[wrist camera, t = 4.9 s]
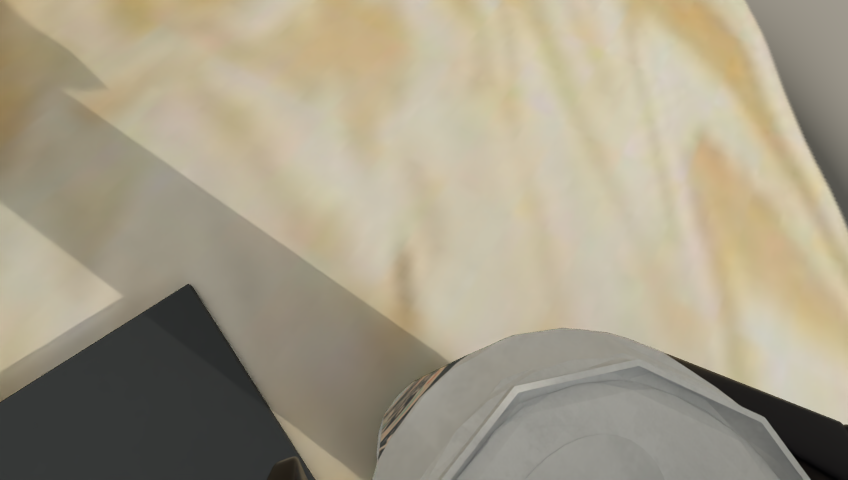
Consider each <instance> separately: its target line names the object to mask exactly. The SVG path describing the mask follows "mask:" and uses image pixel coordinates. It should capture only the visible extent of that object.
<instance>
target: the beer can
mask: <svg viewBox="0 0 848 480" xmlns="http://www.w3.org/2000/svg"><path fill="white" fill-rule="evenodd" d="M372 480H811V479H810V478H809V477H808V475H807V474H806V473H805V471H804V470H803V469H802V467H801V466H800V465H799V463H798V462H797V460H796V459H795V458H794V456H793V455H792V454H791V452H790V451H789V450H788V448H787V447H786V446H785V444H784V443H783V441H782V440H781V439H780V437H779V436H778V435H777V433H776V432H775V431H774V429H773V428H772V427H771V425H770V424H769V423H768V421H767V420H766V418H765V417H763V416H761V415H759V414H756V413H754V412H752V411H750V410H748V409H746V408H743V407H741V406H740V405H739V404H737V403H736V402H735V401H733V400H732V399H731V398H729V397H728V396H727V395H726V394H724V393H723V392H722V391H720V390H719V389H718V388H716V387H715V386H713V385H712V384H710V383H709V382H707V381H706V380H704V379H703V378H701V377H700V376H698V375H697V374H695V373H694V372H692V371H691V370H689V369H688V368H686V367H685V366H683V365H682V364H680V363H679V362H677V361H676V360H674V359H673V358H671V357H670V356H668V355H667V354H665V353H663V352H661V351H658V350H656V349H653V348H651V347H648V346H646V345H643V344H641V343H638V342H636V341H633V340H631V339H628V338H624V337H621V336H618V335H614V334H611V333H607V332H597V331H589V330H580V329H568V328H559V329H552V330H546V331H539V332H532V333H525V334H519V335H513V336H510V337H508V338H505V339H503V340H500V341H498V342H496V343H494V344H492V345H489V346H487V347H485V348H482V349H480V350H478V351H475V352H473V353H471V354H468V355H466V356H464V357H462V358H460V359H458V360H456V361H454V362H452V363H450V364H448V365H446V366H444V367H442V368H440V369H438V370H436V371H434V372H432V373H430V374H428V375H425V376H423V377H421V378H419V379H417V380H415V381H414V382H412V383H411V384H410V385H409V386H407V387H406V388H405V389H404V390H403V391H402V392H401V393H400V394H399V395H398V396H397V397H396V399H395V400H394V401H393V403H392V404H391V405H390V407H389V408H388V409H387V411H386V413H385V415H384V417H383V420H382V423H381V426H380V429H379V433H378V443H377V465H376V469H375V472H374V475H373V478H372Z"/></svg>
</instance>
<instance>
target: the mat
mask: <svg viewBox="0 0 848 480" xmlns="http://www.w3.org/2000/svg"><path fill="white" fill-rule="evenodd" d="M290 457H297V458H298V459H299V461H300V463H301V466H302V468H303V470H304V473H305V475H306V477H307V480H315V479H314V477H313V476H312V474H311V472H310V471H309V469H308V468H307V466H306V465H305V463H304V461H303V460H302V458H301V457H300V455H299V454H298V452H297V450H296V449H295V447H294V446H293V444H292V443H291V441H290V440H289V438H288V436H287V435H286V433H285V432H284V430H283V429H282V427H281V425H280V424H279V422H278V421H277V419H276V418H275V416H274V414H273V413H272V411H271V410H270V408H269V407H268V405H267V403H266V402H265V400H264V399H263V397H262V396H261V394H260V392H259V391H258V389H257V388H256V386H255V385H254V383H253V381H252V380H251V378H250V377H249V375H248V374H247V372H246V370H245V369H244V367H243V366H242V364H241V363H240V361H239V359H238V358H237V356H236V355H235V353H234V352H233V350H232V348H231V347H230V345H229V344H228V342H227V341H226V339H225V337H224V336H223V334H222V333H221V331H220V330H219V328H218V326H217V325H216V323H215V322H214V320H213V319H212V317H211V315H210V314H209V312H208V311H207V309H206V308H205V306H204V304H203V303H202V301H201V300H200V298H199V297H198V295H197V293H196V292H195V290H194V289H193V287H192V286H191V285H189V284H187V285H186V286H184V287H183V288H181V289H179V290H178V291H176V292H175V293H173V294H171V295H170V296H168V297H167V298H165V299H163V300H162V301H160V302H159V303H157V304H156V305H154V306H152V307H151V308H149V309H148V310H146V311H144V312H143V313H141V314H140V315H138V316H136V317H135V318H133V319H132V320H130V321H129V322H127V323H125V324H124V325H122V326H121V327H119V328H117V329H116V330H114V331H113V332H111V333H109V334H108V335H106V336H105V337H103V338H102V339H100V340H98V341H97V342H95V343H94V344H92V345H90V346H89V347H87V348H86V349H84V350H82V351H81V352H79V353H78V354H76V355H75V356H73V357H71V358H70V359H68V360H67V361H65V362H63V363H62V364H60V365H59V366H57V367H55V368H54V369H52V370H51V371H49V372H48V373H46V374H44V375H43V376H41V377H40V378H38V379H36V380H35V381H33V382H32V383H30V384H28V385H27V386H25V387H24V388H22V389H21V390H19V391H17V392H16V393H14V394H13V395H11V396H9V397H8V398H6V399H5V400H3V401H1V402H0V480H267V478H268V476H269V473H270V471H271V469H272V467H273V466H274V464H275V463H277V462H279V461H282V460H285V459H288V458H290Z"/></svg>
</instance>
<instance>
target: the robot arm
mask: <svg viewBox="0 0 848 480" xmlns="http://www.w3.org/2000/svg"><path fill="white" fill-rule="evenodd" d="M658 351H659V350H658ZM663 353H664V352H663ZM665 354H666V353H665ZM667 355H668V356H670V357H671V358H673V359H674V360H676V361H677V362H679V363H680V364H682V365H683V366H685V367H686V368H688V369H689V370H691V371H692V372H694V373H695V374H697V375H698V376H700V377H701V378H703V379H704V380H706V381H707V382H709V383H710V384H712V385H713V386H715V387H716V388H718V389H719V390H720V391H722V392H723V393H724V394H726V395H727V396H728V397H729V398H731V399H732V400H733V401H735V402H736V403H737V404H739V405H740V406H741V407H743V408H746V409H748V410H750V411H752V412H754V413H756V414H759V415H761V416H763V417H765V418H766V420H767V421H768V423H769V424H770V425H771V427H772V428H773V429H774V431H775V432H776V433H777V435H778V436H779V437H780V439H781V440H782V441H783V443H784V444H785V446H786V447H787V448H788V450H789V451H790V452H791V454H792V455H793V456H794V458H795V459H796V460H797V462H798V463H799V465H800V466H801V467H802V469H803V470H804V471H805V473H806V474H807V475H808V477H809V478H810V479H811V480H848V425H843V424H842V423H841V422H839V421H836V420H834V419H831V418H829V417H826V416H824V415H821V414H819V413H816V412H814V411H811V410H808V409H806V408H803V407H801V406H798V405H796V404H793V403H791V402H788V401H786V400H783V399H780V398H778V397H775V396H773V395H770V394H768V393H765V392H763V391H760V390H758V389H755V388H753V387H750V386H747V385H745V384H742V383H740V382H737V381H735V380H732V379H730V378H727V377H725V376H722V375H720V374H717V373H714V372H712V371H709V370H707V369H704V368H702V367H699V366H697V365H694V364H692V363H689V362H687V361H684V360H681V359H679V358H676V357H674V356H671V355H669V354H667ZM267 480H307V477H306V475H305V473H304V470H303V468H302V466H301V463H300V461H299V459H298V458H297V457H290V458H288V459H285V460H282V461H279V462H277V463H275V464H274V466H273V467H272V469H271V471H270V473H269V476H268V478H267Z"/></svg>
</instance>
